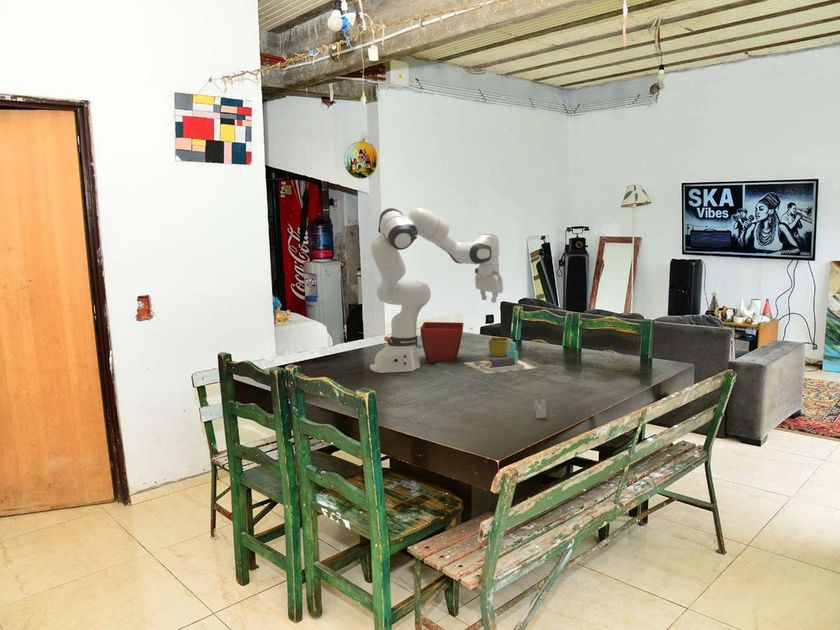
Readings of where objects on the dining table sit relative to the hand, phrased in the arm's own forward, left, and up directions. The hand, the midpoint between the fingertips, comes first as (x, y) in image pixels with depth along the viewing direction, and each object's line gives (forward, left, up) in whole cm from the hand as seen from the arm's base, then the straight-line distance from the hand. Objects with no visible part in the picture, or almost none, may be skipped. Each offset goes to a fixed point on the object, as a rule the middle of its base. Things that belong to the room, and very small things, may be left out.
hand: (488, 301), depth 304 cm
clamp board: (0, -10, -29) cm, 30 cm away
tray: (-2, -16, -28) cm, 32 cm away
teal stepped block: (+9, -6, -27) cm, 29 cm away
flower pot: (+10, +9, -29) cm, 32 cm away
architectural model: (-26, -75, -29) cm, 85 cm away
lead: (-2, -16, -27) cm, 31 cm away
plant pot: (-17, +14, -29) cm, 36 cm away
